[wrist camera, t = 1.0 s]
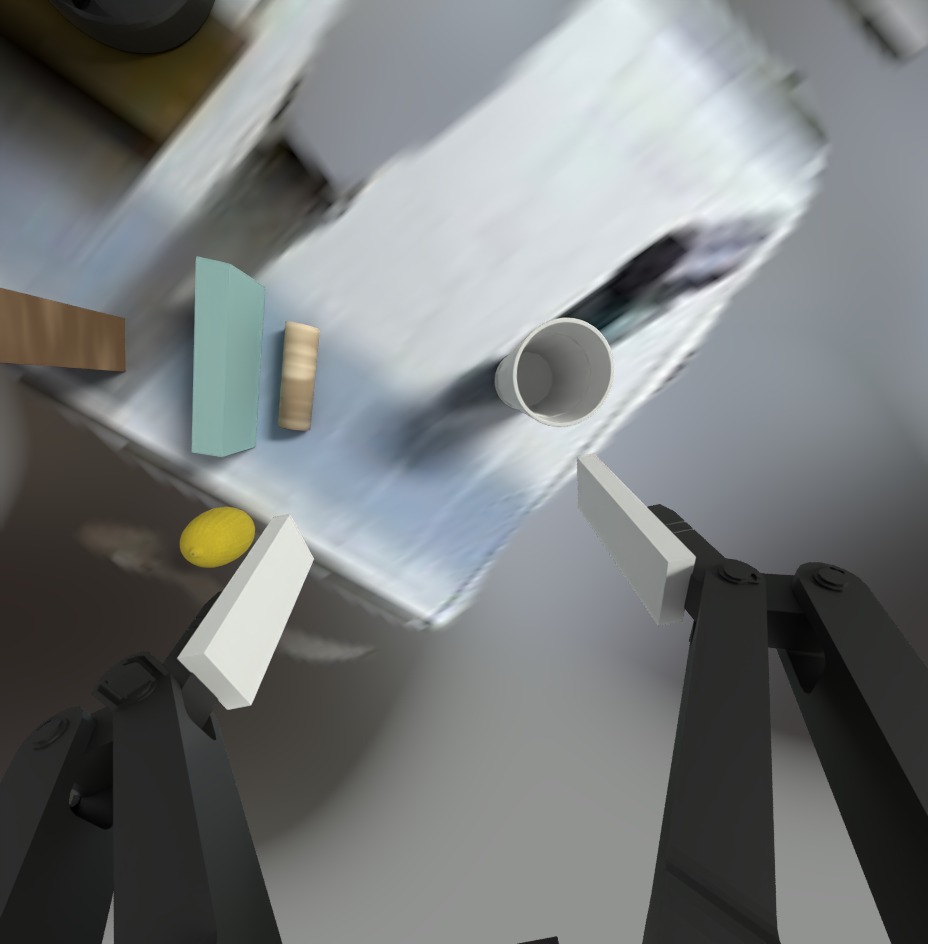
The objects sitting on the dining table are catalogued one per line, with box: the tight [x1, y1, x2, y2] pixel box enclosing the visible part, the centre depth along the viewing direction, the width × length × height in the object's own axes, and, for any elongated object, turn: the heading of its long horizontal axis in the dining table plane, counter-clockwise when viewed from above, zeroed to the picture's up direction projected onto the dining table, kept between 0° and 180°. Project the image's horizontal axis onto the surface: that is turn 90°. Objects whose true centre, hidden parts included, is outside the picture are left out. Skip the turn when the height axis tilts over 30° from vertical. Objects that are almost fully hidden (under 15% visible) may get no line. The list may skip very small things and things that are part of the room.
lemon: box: [180, 507, 255, 567], centre depth 34 cm, size 6×6×8 cm
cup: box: [495, 318, 614, 427], centre depth 32 cm, size 8×8×12 cm
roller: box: [278, 321, 320, 430], centre depth 34 cm, size 10×3×3 cm, turn 170°
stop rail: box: [192, 256, 265, 457], centre depth 32 cm, size 2×16×6 cm, turn 170°
